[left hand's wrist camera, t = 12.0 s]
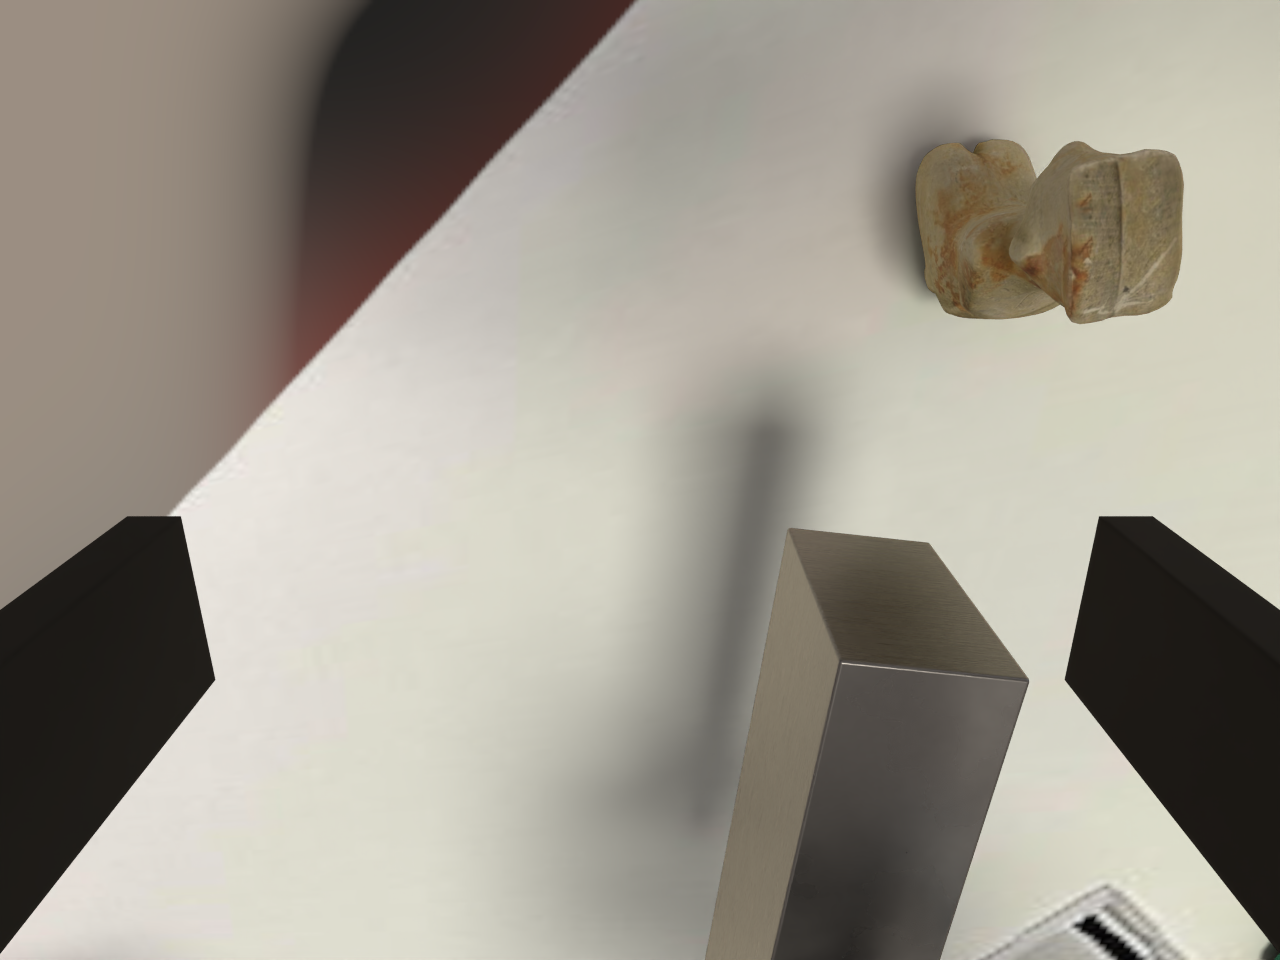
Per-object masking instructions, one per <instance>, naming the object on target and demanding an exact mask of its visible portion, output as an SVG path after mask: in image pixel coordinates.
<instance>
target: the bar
mask: <svg viewBox="0 0 1280 960" xmlns="http://www.w3.org/2000/svg"><path fill="white" fill-rule="evenodd" d="M1028 684H1029V679H1028V677H1027V676H1026V675H1025V673H1024V672H1023V670H1022V669H1021V668H1020V666H1019V665H1018V664H1017V662H1016V661H1015V660H1014V658H1013V657H1012V655H1011V654H1010V653H1009V651H1008V650H1007V649H1006V647H1005V646H1004V645H1003V643H1002V642H1001V640H1000V639H999V638H998V636H997V635H996V634H995V632H994V631H993V630H992V628H991V627H990V625H989V624H988V623H987V621H986V620H985V619H984V617H983V616H982V615H981V613H980V612H979V610H978V609H977V608H976V606H975V605H974V604H973V602H972V601H971V600H970V598H969V597H968V595H967V594H966V593H965V591H964V590H963V589H962V587H961V586H960V585H959V583H958V582H957V580H956V579H955V578H954V576H953V575H952V574H951V572H950V571H949V570H948V568H947V567H946V565H945V564H944V563H943V561H942V560H941V559H940V557H939V556H938V555H937V553H936V552H935V550H934V549H933V548H932V546H931V545H930V544H929V543H926V542H916V541H907V540H898V539H888V538H879V537H870V536H860V535H851V534H842V533H832V532H823V531H814V530H804V529H795V528H789V529H788V530H787V535H786V541H785V546H784V551H783V556H782V561H781V567H780V572H779V577H778V582H777V587H776V593H775V598H774V603H773V608H772V613H771V619H770V624H769V629H768V634H767V639H766V645H765V650H764V655H763V660H762V665H761V671H760V676H759V681H758V686H757V691H756V697H755V702H754V707H753V712H752V718H751V723H750V728H749V733H748V738H747V744H746V749H745V754H744V759H743V764H742V770H741V775H740V780H739V785H738V790H737V796H736V801H735V806H734V811H733V816H732V822H731V827H730V832H729V837H728V842H727V848H726V853H725V858H724V863H723V868H722V874H721V879H720V884H719V889H718V894H717V900H716V905H715V910H714V915H713V920H712V926H711V931H710V936H709V941H708V946H707V952H706V957H705V960H940V958H941V954H942V951H943V948H944V945H945V942H946V939H947V936H948V933H949V930H950V926H951V923H952V920H953V917H954V914H955V911H956V908H957V905H958V902H959V899H960V895H961V892H962V889H963V886H964V883H965V880H966V877H967V874H968V871H969V867H970V864H971V861H972V858H973V855H974V852H975V849H976V846H977V843H978V839H979V836H980V833H981V830H982V827H983V824H984V821H985V818H986V815H987V812H988V808H989V805H990V802H991V799H992V796H993V793H994V790H995V787H996V784H997V780H998V777H999V774H1000V771H1001V768H1002V765H1003V762H1004V759H1005V756H1006V752H1007V749H1008V746H1009V743H1010V740H1011V737H1012V734H1013V731H1014V728H1015V725H1016V721H1017V718H1018V715H1019V712H1020V709H1021V706H1022V703H1023V700H1024V697H1025V693H1026V690H1027V687H1028Z"/></svg>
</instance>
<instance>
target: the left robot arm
mask: <svg viewBox="0 0 1280 960" xmlns="http://www.w3.org/2000/svg"><path fill="white" fill-rule="evenodd" d="M214 681H215V676H214V671H213V666H212V662H211V657H210V652H209V647H208V643H207V638H206V633H205V629H204V624H203V619H202V614H201V610H200V605H199V600H198V595H197V591H196V586H195V581H194V576H193V572H192V567H191V562H190V557H189V553H188V548H187V543H186V538H185V534H184V529H183V524H182V519H181V516H127V517H126V518H124V519H123V520H122V521H120V522H119V523H118V524H116V525H115V526H114V527H112V528H111V529H110V530H108V531H107V532H105V533H104V534H103V535H101V536H100V537H99V538H97V539H96V540H95V541H93V542H92V543H91V544H89V545H88V546H86V547H85V548H84V549H82V550H81V551H80V552H78V553H77V554H76V555H74V556H73V557H72V558H70V559H69V560H67V561H66V562H65V563H63V564H62V565H61V566H59V567H58V568H57V569H55V570H54V571H53V572H51V573H50V574H48V575H47V576H46V577H44V578H43V579H42V580H40V581H39V582H38V583H36V584H35V585H34V586H32V587H31V588H29V589H28V590H27V591H25V592H24V593H23V594H21V595H20V596H19V597H17V598H16V599H15V600H13V601H12V602H10V603H9V604H8V605H6V606H5V607H4V608H2V609H1V610H0V953H1V952H2V951H3V950H4V948H5V947H6V946H7V944H8V943H9V942H10V941H11V939H12V938H13V937H14V936H15V934H16V933H17V932H18V930H19V929H20V928H21V927H22V925H23V924H24V923H25V922H26V920H27V919H28V918H29V916H30V915H31V914H32V913H33V911H34V910H35V909H36V908H37V906H38V905H39V904H40V902H41V901H42V900H43V899H44V897H45V896H46V895H47V894H48V892H49V891H50V890H51V888H52V887H53V886H54V885H55V883H56V882H57V881H58V880H59V878H60V877H61V876H62V874H63V873H64V872H65V871H66V869H67V868H68V867H69V866H70V864H71V863H72V862H73V860H74V859H75V858H76V857H77V855H78V854H79V853H80V851H81V850H82V849H83V848H84V846H85V845H86V844H87V843H88V841H89V840H90V839H91V837H92V836H93V835H94V834H95V832H96V831H97V830H98V829H99V827H100V826H101V825H102V823H103V822H104V821H105V820H106V818H107V817H108V816H109V815H110V813H111V812H112V811H113V809H114V808H115V807H116V806H117V804H118V803H119V802H120V801H121V799H122V798H123V797H124V795H125V794H126V793H127V792H128V790H129V789H130V788H131V787H132V785H133V784H134V783H135V781H136V780H137V779H138V778H139V776H140V775H141V774H142V773H143V771H144V770H145V769H146V767H147V766H148V765H149V764H150V762H151V761H152V760H153V759H154V757H155V756H156V755H157V753H158V752H159V751H160V750H161V748H162V747H163V746H164V744H165V743H166V742H167V741H168V739H169V738H170V737H171V736H172V734H173V733H174V732H175V730H176V729H177V728H178V727H179V725H180V724H181V723H182V722H183V720H184V719H185V718H186V716H187V715H188V714H189V713H190V711H191V710H192V709H193V708H194V706H195V705H196V704H197V702H198V701H199V700H200V699H201V697H202V696H203V695H204V694H205V692H206V691H207V690H208V688H209V687H210V686H211V685H212V683H213V682H214ZM1065 681H1066V682H1067V683H1068V685H1069V686H1070V687H1071V688H1072V690H1073V691H1074V692H1075V694H1076V695H1077V696H1078V697H1079V699H1080V700H1081V701H1082V702H1083V704H1084V705H1085V706H1086V708H1087V709H1088V710H1089V711H1090V713H1091V714H1092V715H1093V716H1094V718H1095V719H1096V720H1097V722H1098V723H1099V724H1100V725H1101V727H1102V728H1103V729H1104V730H1105V732H1106V733H1107V734H1108V736H1109V737H1110V738H1111V739H1112V741H1113V742H1114V743H1115V744H1116V746H1117V747H1118V748H1119V750H1120V751H1121V752H1122V753H1123V755H1124V756H1125V757H1126V759H1127V760H1128V761H1129V762H1130V764H1131V765H1132V766H1133V767H1134V769H1135V770H1136V771H1137V773H1138V774H1139V775H1140V776H1141V778H1142V779H1143V780H1144V781H1145V783H1146V784H1147V785H1148V787H1149V788H1150V789H1151V790H1152V792H1153V793H1154V794H1155V795H1156V797H1157V798H1158V799H1159V801H1160V802H1161V803H1162V804H1163V806H1164V807H1165V808H1166V809H1167V811H1168V812H1169V813H1170V815H1171V816H1172V817H1173V818H1174V820H1175V821H1176V822H1177V823H1178V825H1179V826H1180V827H1181V829H1182V830H1183V831H1184V832H1185V834H1186V835H1187V836H1188V837H1189V839H1190V840H1191V841H1192V843H1193V844H1194V845H1195V846H1196V848H1197V849H1198V850H1199V851H1200V853H1201V854H1202V855H1203V857H1204V858H1205V859H1206V860H1207V862H1208V863H1209V864H1210V866H1211V867H1212V868H1213V869H1214V871H1215V872H1216V873H1217V874H1218V876H1219V877H1220V878H1221V880H1222V881H1223V882H1224V883H1225V885H1226V886H1227V887H1228V888H1229V890H1230V891H1231V892H1232V894H1233V895H1234V896H1235V897H1236V899H1237V900H1238V901H1239V902H1240V904H1241V905H1242V906H1243V908H1244V909H1245V910H1246V911H1247V913H1248V914H1249V915H1250V916H1251V918H1252V919H1253V920H1254V922H1255V923H1256V924H1257V925H1258V927H1259V928H1260V929H1261V930H1262V932H1263V933H1264V934H1265V936H1266V937H1267V938H1268V939H1269V941H1270V942H1271V943H1272V944H1273V946H1274V947H1275V948H1276V950H1277V951H1278V952H1279V953H1280V610H1279V609H1278V608H1276V607H1275V606H1274V605H1272V604H1271V603H1270V602H1268V601H1267V600H1266V599H1264V598H1263V597H1261V596H1260V595H1259V594H1257V593H1256V592H1255V591H1253V590H1252V589H1251V588H1249V587H1248V586H1247V585H1245V584H1244V583H1242V582H1241V581H1240V580H1238V579H1237V578H1236V577H1234V576H1233V575H1232V574H1230V573H1229V572H1227V571H1226V570H1225V569H1223V568H1222V567H1221V566H1219V565H1218V564H1217V563H1215V562H1214V561H1213V560H1211V559H1210V558H1208V557H1207V556H1206V555H1204V554H1203V553H1202V552H1200V551H1199V550H1198V549H1196V548H1195V547H1194V546H1192V545H1191V544H1189V543H1188V542H1187V541H1185V540H1184V539H1183V538H1181V537H1180V536H1179V535H1177V534H1176V533H1175V532H1173V531H1172V530H1170V529H1169V528H1168V527H1166V526H1165V525H1164V524H1162V523H1161V522H1160V521H1158V520H1157V519H1156V518H1154V517H1153V516H1099V519H1098V524H1097V529H1096V534H1095V538H1094V543H1093V548H1092V553H1091V557H1090V562H1089V567H1088V572H1087V576H1086V581H1085V586H1084V591H1083V595H1082V600H1081V605H1080V610H1079V614H1078V619H1077V624H1076V629H1075V633H1074V638H1073V643H1072V647H1071V652H1070V657H1069V662H1068V666H1067V671H1066V676H1065Z"/></svg>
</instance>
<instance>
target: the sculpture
mask: <svg viewBox="0 0 1280 960" xmlns="http://www.w3.org/2000/svg"><path fill="white" fill-rule="evenodd" d="M1183 189H1184V182H1183V174H1182V170H1181V167H1180V164H1179V161H1178V159H1177V158H1176V156H1175V155H1174V154H1172V153H1170V152H1167V151H1163V150H1151V149H1144V150H1140V151H1136V152H1133V153H1128V154H1121V155H1120V154H1111V153H1102V152H1099V151H1096V150H1094V149H1092V148H1091V147H1090V146H1088V145H1087V144H1085V143H1084V142H1080V141H1074V142H1071V143H1069V144H1067V145H1066V146H1064V147H1063V148H1062V149H1061V150H1060V151H1059V152H1058V153H1057V154H1056V155H1055V157H1054V158H1053V159H1052V161H1051V162H1050V164H1049V165H1048V167H1047V168H1046V169H1045V170H1044V171H1043V172H1042V173H1041V174H1040V176H1039V177H1038V178H1036V175H1035V172H1034V169H1033V167H1032V164H1031V161H1030V159H1029V156H1028V155H1027V153H1026V151H1025V150H1024V149H1023V148H1022V147H1021V146H1020V145H1019V144H1017V143H1015V142H1013V141H1009V140H993V139H992V140H989V141H987V142H981V143H979V144H978V145H977V146H976V147H975V150H974V152H973V153H971V152H970V151H968V150H967V149H966V148H965V147H964V146H963V145H961V144H960V143H949V144H944V145H940V146H938V147H936V148H934V149H933V150H932V151H930V152H929V153H928V154H927V155H926V156H925V157H924V159H923V160H922V162H921V164H920V167H919V169H918V173H917V177H916V187H915V190H916V207H917V216H918V223H919V229H920V235H921V240H922V246H923V251H924V257H925V267H926V268H925V270H924V275H925V280H926V284H927V286H928V288H929V290H931V291H932V292H933V293H935V294H936V296H937V298H938V300H939V302H940V304H941V306H942V308H943V310H944V311H945V312H946V313H948V314H952V315H955V316H958V317H963V318H976V319H1009V318H1020V317H1025V316H1030V315H1036V314H1039V313H1043V312H1046V311H1048V310H1050V309H1053V308H1055V307H1056V306H1058V305H1062V306H1063V307H1065V310H1066V314H1067V316H1068V317H1069V319H1070V320H1071V321H1072V322H1074V323H1078V324H1085V323H1092V322H1097V321H1102V320H1104V319H1107V318H1111V317H1118V316H1133V315H1142V314H1147V313H1150V312H1152V311H1155V310H1157V309H1159V308H1161V307H1163V306H1164V305H1166V304H1167V303H1168V302H1169V301H1170V299H1171V298H1172V291H1173V288H1174V285H1175V283H1176V281H1177V278H1178V274H1179V270H1180V264H1181V257H1182V207H1183Z"/></svg>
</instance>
